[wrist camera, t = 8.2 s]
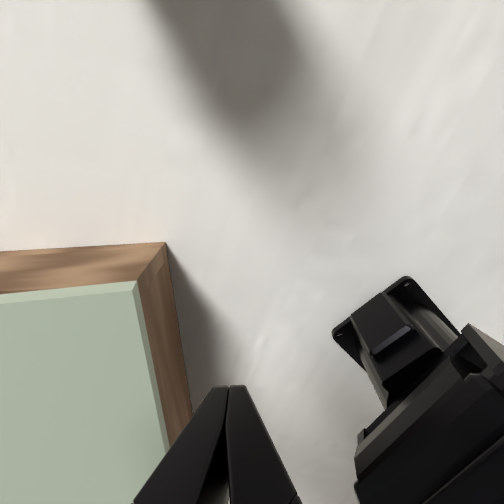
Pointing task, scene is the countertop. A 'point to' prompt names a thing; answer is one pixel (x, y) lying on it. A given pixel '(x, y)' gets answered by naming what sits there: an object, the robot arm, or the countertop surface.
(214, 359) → the countertop surface
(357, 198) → the countertop surface
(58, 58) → the countertop surface
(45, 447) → the lid
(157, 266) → the walnut box
